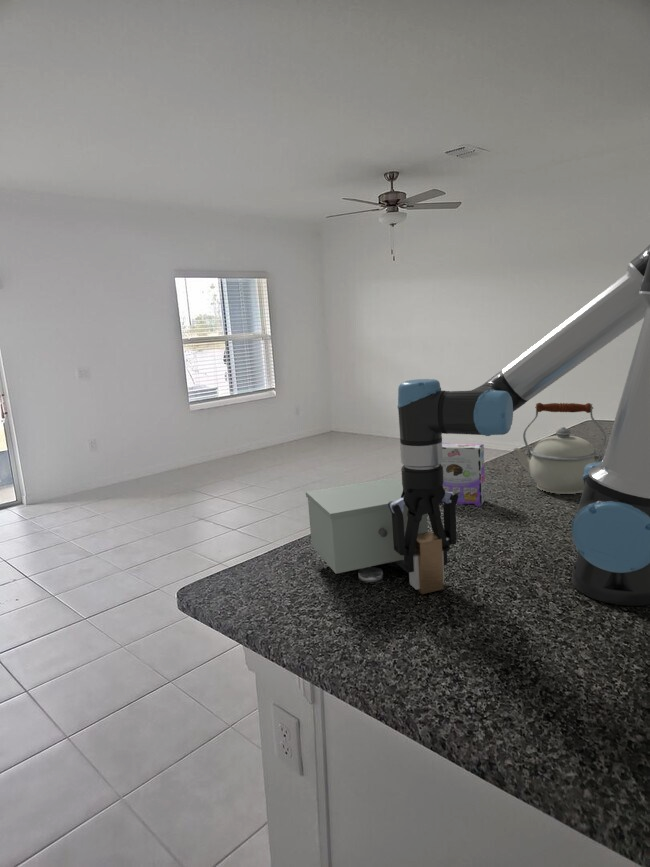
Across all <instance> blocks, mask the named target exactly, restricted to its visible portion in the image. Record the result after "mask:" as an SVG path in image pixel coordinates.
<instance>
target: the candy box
mask: <svg viewBox="0 0 650 867" xmlns="http://www.w3.org/2000/svg"><path fill="white" fill-rule="evenodd" d="M484 445H485V444H484V443H455V442H454V443H450V442H449V443H447V442H442V453H443V462H442V463H441V465H442V466H443V488H444V490H445V491H446V492H447V491H451V492H453V493H455V494H457V495H458V500H457V503H456V504H461V505H460V506H471V505H474V507H482V506H483V504H484V503H485V501H486V478H485V476H486V473H485V447H484ZM443 503H444V501H443V499H442V501H441V503H440V504H443Z"/></svg>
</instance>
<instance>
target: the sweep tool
mask: <svg viewBox="0 0 650 867" xmlns="http://www.w3.org/2000/svg"><path fill="white" fill-rule="evenodd" d="M415 554H416V555H417V556H418V561H419V583H420V589H417V591H418V592H419V593H420V594H421V595H426V594H428V593H433V592H437V591H442V590H444V587H445V586H444V583H443V558H442V539H441V538H440V537H438V536H437V535H435V534H434V533H433V531H430V530H428V532H423V533H418V535H417V541H416V547H415ZM394 563H396V565H397V566H399V567H400V569H402V570H403V571H404V572H406V573H407V574H408V575H409V572H408V571H407V570H406V569H405V562H404V559H403V560H399V561H394Z"/></svg>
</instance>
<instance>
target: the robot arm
mask: <svg viewBox="0 0 650 867" xmlns="http://www.w3.org/2000/svg"><path fill="white" fill-rule="evenodd" d="M642 320H643V321H642ZM640 321H642V324H641V328H640V332H639V335H638V339H637V342H636V346H635V349H634V352H633V356H632V359H631V361H630V362H631V363H630V366H629V368H628V373H627V377H626V378H625V379H626V380H625V383H624V387H623V391H622V393H621V397H620V401H619V404H618V408H617V411H616V415H615V417H614V421H613V425H612V429H611V431H610V435H609V439H608V443H607V446H606V448H605V453H604V456H603V457H604V458H603V459H602V461H600V462H599V461H597V462H596V463H590V464H588V465H586V466H585V468H584V475H583V477H582V479H583V480H584V487H583V493H581V497H580V501H579V503H578V508H577V510H576V514H575V515H574V517H573V518H572V521H571V536H572V541H573V542H572V543H573V544H574V546H575V548H576V550H577V551H578V555H577V558H576V561H575V563H574V564H573V567H572V571H571V572H572V573H571V582H572V586H573V587H574V589H576V590H577V591H578V592H580V593H581V594H582V595H584V596H587V597H588V598H591V599H593V600H597V601H600V602H604V603H606V604H607V603H608V604H612V605H617V606H618V605H619V606H625V607H626V606H627V607H629V606H630V607H639V606H648V605H650V244H648V245H647V247H645V249H644V250H643V251H642V252H640V253H639V254H638V255H637V256H636V257H635V258H633V259H632V260H631V261H629V262H628V263H627V267H626V272H625V273H624V274H623V275H621V276H620V277H619V278H618V279H616V280H615V281H614V282H613V283H611V284H610V285H608V286H607V287H606V288H605V289H604V290H602V291H601V292H599V294H597V295H596V296H594V298H592V299H591V300H590V301H588V302H587V303H585V305H583V306H582V307H581V308H579V309H578V310H577V311H575V312H574V313H573V314H572V315H570V316H568V318H566V319H565V320H564V321H563V322H562V323H560V324H558V326H556V327H555V328H554V329H553V330H551V331H550V332H549V333H548V334H545V336H543V337H542V338H541V339H540V340H538V341H536V343H535V344H533V345H532V346H531V347H529V348H528V349H527V350H525V351H524V352H523V353H521V354H520V355H518V357H517V358H516V359H514V360H513V361H512V362H510V363H509V364H507V365H506V366H505V367H504V368H503V369H501V370H500V371H498V372H497V373H496V374H495V375H493V376H492V377H491V378H489V379H488V380H487V381H485V382H484V383H483V384H481V385H480V386H477V387H475V388H474V389H471V390H451V391H449V390H442V387H441V383H440V381H439V380H437V379H433V378H432V379H431V378H420V379H410V380H405V381H402V382H401V383H400V384H399V385H398V388H397V389H398V390H397V393H398V394H397V400H398V401H397V411H398V425H399V440H400V441H399V446H400V463H401V464H402V467H401V468H400V470H401V471H400V472H401V482H402V486H403V492H402V495H401V498H400V499H398V500H397V501H395V502H393V501H390V502H389V503H388V506H389V509H390V511H391V513H392V527H393V542H394V550H395V551H396V552H397V553H399V554H400V555H404V562H405V569H406V570H407V571H408V572H409V574H408V578H409V579H408V580H409V585H410V586H412V588H414V590H417V589H420V583H419V561H418V556H417V555H416V554H415V547H416V541H417V535H418V529H419V523H420V521H421V520H422V515H424V514H427V516H428V518H429V522H430V525H431V530H432V533H433V534H435V535H437V536H438V537H440V538H441V539H442V558H443V584H445V565H448V552H449V551H450V550H451V545H453V546H454V545H456V543H457V515H456V514H457V513H456V512H457V510H456V508H457V505H456V503H457V500H458V495H457V494H455V493H453V492H451V491H447V492H446V491H445V490H444V488H443V466H442V465H441V463H442V462H443V453H442V443H443V436H442V434H446V435H450V434H453V435H474V436H475V435H476V436H477V435H478V436H486V437H490V436H500V435H501V436H503V435H507V434H508V433H509V432H510V431H511V427H512V425H513V419H514V412H515V411H516V410H518V409H520V408H521V407H522V406H524V405H525V404H526V403H527V402H528V401H530V400H532V399H533V398H534V397H535V396H537V395H538V394H540V393H542V391H544V390H545V389H546V388H549V386H552V384H553V383H555V382H556V381H558V380H559V379H561V378H562V377H563V376H565V375H566V374H568V373H569V372H571V371H572V370H573V369H575V368H576V367H577V366H579V365H580V364H581V363H583V362H585V361H586V360H587V359H589V358H590V357H592V356H593V355H594V354H595V353H597V352H598V351H600V350H601V349H603V348H604V347H606V346H607V345H609V344H610V343H611V342H612V341H614V340H616V338H618V337H620V335H622V334H624V333H625V332H626V331H628V330H629V329H631V328H632V327H634V326H635V325H636V324H638V323H639V322H640ZM442 499H443V501H444V504H443V503H441V501H442ZM404 504H405V505H406V506H407V507H408V513H407V516H408V521H407V527H406V533H405V536H404V519H403V514H402V512H403V511H404V508H403V506H404ZM441 504H443V521H442V517H441V516H442V512H441V509H440V505H441ZM417 591H418V590H417Z"/></svg>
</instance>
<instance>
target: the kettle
mask: <svg viewBox="0 0 650 867" xmlns="http://www.w3.org/2000/svg"><path fill="white" fill-rule="evenodd" d="M593 409H594V406H593V403H590V402H589V403H585V404H582V403H575V402H574V403H573V402H571V403H570V402H569V403H568V402H566V403H565V402H563V403H562V402H561V403H558V402H557V403H556V402H554V403H553V402H550V403H541V402H537V403H536V404H535V417H534V418H533V419H532V421H531V422H530V423H528V425H527V426H526V428H525V429H524V431H523V434H522V435H523V436H522V437H523V442H524V445H525V447H526V450H527V452H525V454H524V453H523V451H522V450H521V448H520V447H516V448H512V450H513V452H514V454H515V456H516V457H517V459H518V460H519V462H520V464H521V465H522V466H523V468H525V469H526V471H528V472H529V475H530V476H531V478H532V480H533V481H534V482H535V483H537V484H536V487H537V488H538V489H539V490H540V491H542V490H543V491H542V492H544V491H546V492H545V493H547V492H550V493H549V494H552V493H556V494H555V495H560V494H574V495H576V494H575V493H580V492H583V487H584V480H583V479H582V477H583V475H584V468H585V466H586V465H588V464H590V463H596V462H601V460H603V459H604V456H601V453H602V452H603V451H604V448H605V445H606V444H607V443H606V442H607V435H606V432H605V430H604V429H603V428H602V426H601V425H600V424H599V423H598V422H597V421H596V420H595V418H594V416H593ZM541 412H549V413H581V412H585V413H586V414H590V419H591V421H592V422H593V423H594V424H595V425H596V426H597V427H598V428H599V430H600V431H601V432H602V435H603V438H604V442H603V445H602V448H601V450H600V451H599V453H598V451H597V450H596V449H595V448H594V446H593V445H592V443H591V442H590V441H589V440H586V439H585V438H581V437H579V436H575V435H571V434H572V432H571V430H569V429H568V428H567V427H566V426H565V427H564V426H563V427H561V428H559V429H557V430H556V431H555V434H556V435H552V436H546V437H544V438H542V439H540V440H539V441H537V442H536V444H535V445H534V447H533V448H532V449H531V448H530V446H529V444H528V441H527V437H526V432H527V431H528V429H529V427H530V426H531V425H532V423H534V421H535V420H536V419H537V417H539V416H538V415H539V413H541ZM597 455H598V456H597Z"/></svg>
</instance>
